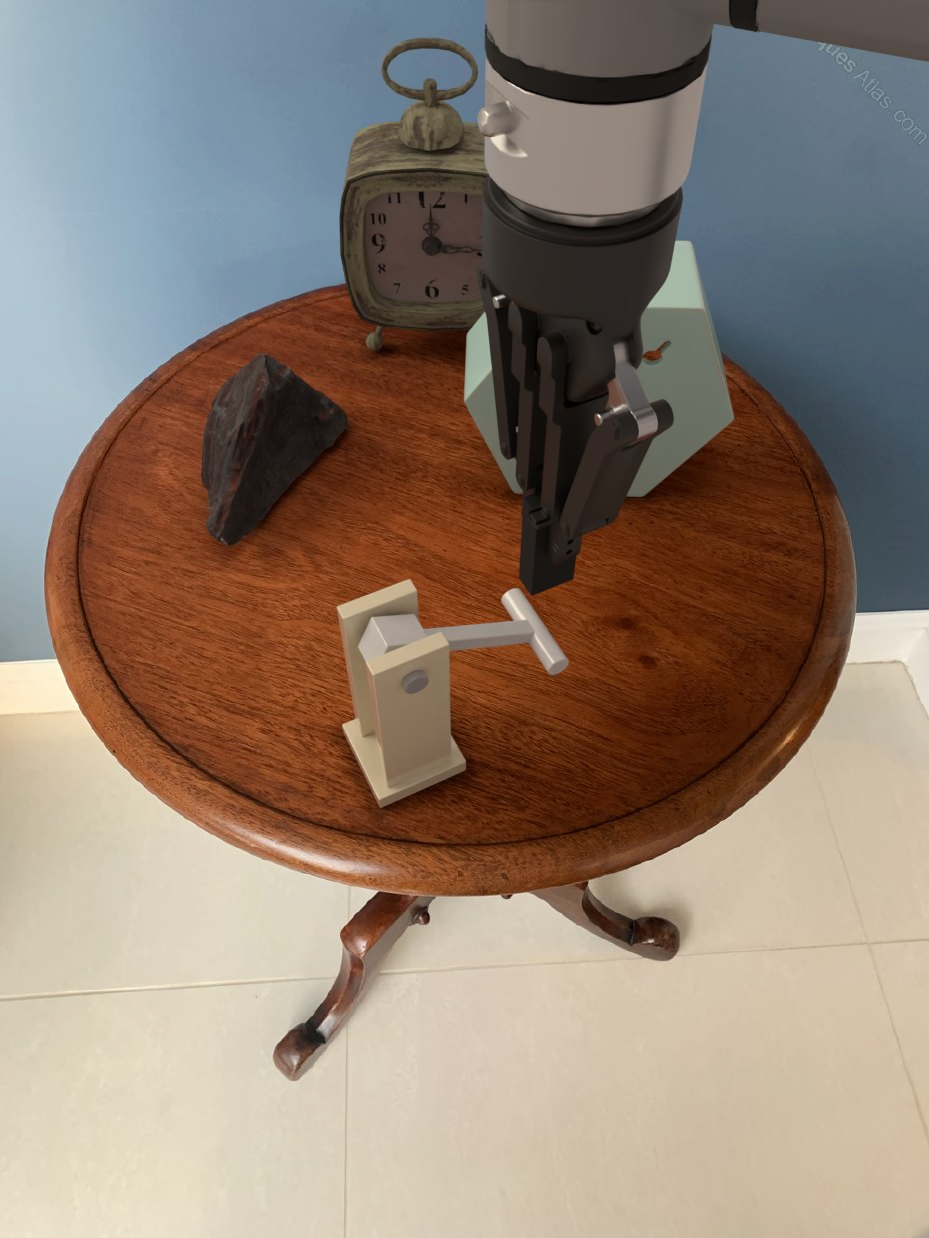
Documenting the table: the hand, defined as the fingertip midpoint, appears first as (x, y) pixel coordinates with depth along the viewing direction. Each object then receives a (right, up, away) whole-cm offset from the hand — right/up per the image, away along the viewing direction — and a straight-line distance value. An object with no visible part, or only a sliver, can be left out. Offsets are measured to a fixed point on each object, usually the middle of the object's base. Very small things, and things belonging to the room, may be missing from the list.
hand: (546, 578), depth 55 cm
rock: (-19, +8, +22) cm, 30 cm away
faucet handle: (-5, -4, +2) cm, 7 cm away
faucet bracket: (-9, -11, +8) cm, 16 cm away
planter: (+5, +10, +24) cm, 27 cm away
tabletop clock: (-7, +24, +34) cm, 42 cm away
